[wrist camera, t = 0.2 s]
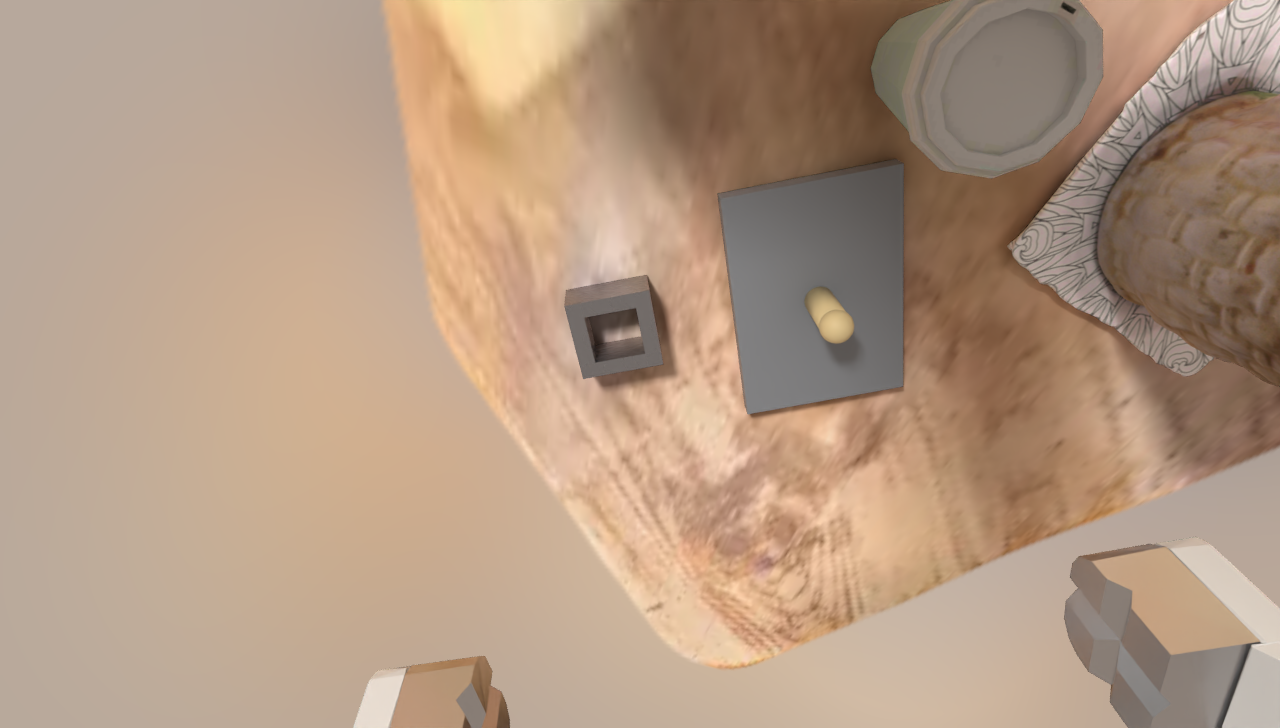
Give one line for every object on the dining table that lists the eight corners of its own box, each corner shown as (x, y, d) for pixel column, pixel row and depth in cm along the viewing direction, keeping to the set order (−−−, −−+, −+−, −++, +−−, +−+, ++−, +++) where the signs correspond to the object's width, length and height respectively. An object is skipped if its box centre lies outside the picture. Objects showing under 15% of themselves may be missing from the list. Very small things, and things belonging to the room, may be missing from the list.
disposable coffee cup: (927, 158, 54) (1031, 216, 41) (809, 99, 52) (879, 141, 39) (1015, 18, 50) (1162, 34, 37) (889, -54, 47) (1000, -65, 34)
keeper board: (717, 193, 55) (733, 224, 48) (896, 159, 54) (938, 185, 47) (744, 405, 64) (761, 456, 58) (896, 378, 64) (932, 426, 57)
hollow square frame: (566, 290, 58) (564, 306, 55) (646, 274, 58) (649, 290, 55) (584, 360, 61) (583, 378, 59) (660, 346, 61) (663, 364, 58)
